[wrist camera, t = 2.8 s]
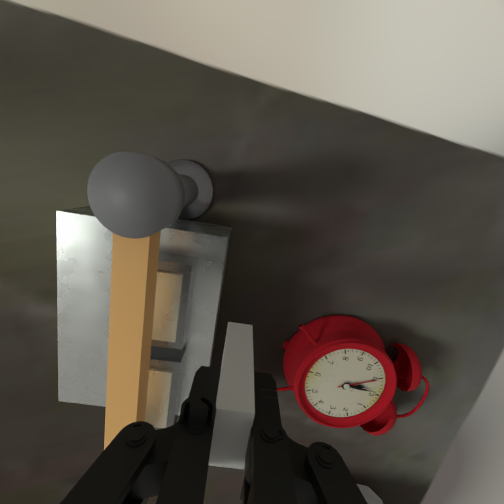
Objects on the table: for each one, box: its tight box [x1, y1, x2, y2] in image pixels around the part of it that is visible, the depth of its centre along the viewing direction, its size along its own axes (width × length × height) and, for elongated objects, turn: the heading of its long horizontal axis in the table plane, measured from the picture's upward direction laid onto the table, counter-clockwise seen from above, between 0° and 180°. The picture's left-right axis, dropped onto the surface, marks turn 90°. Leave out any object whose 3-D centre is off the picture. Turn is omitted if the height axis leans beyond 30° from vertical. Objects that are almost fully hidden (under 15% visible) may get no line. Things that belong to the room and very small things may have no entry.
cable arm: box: [87, 151, 198, 450], centre depth 20 cm, size 22×4×11 cm, turn 171°
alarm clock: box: [277, 315, 429, 435], centre depth 26 cm, size 10×6×15 cm
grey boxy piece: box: [57, 160, 232, 430], centre depth 22 cm, size 12×21×7 cm, turn 171°
